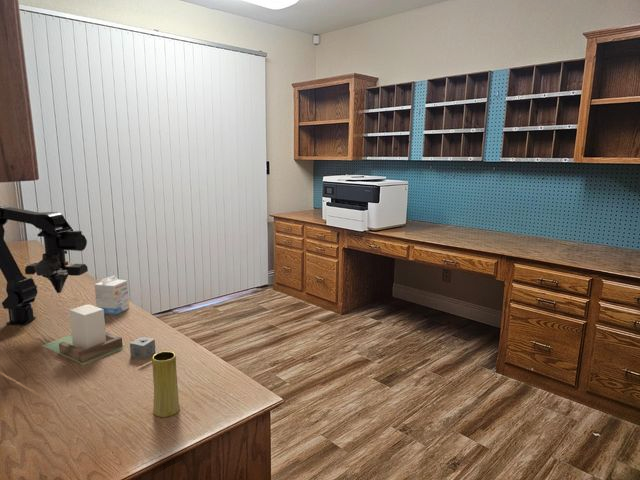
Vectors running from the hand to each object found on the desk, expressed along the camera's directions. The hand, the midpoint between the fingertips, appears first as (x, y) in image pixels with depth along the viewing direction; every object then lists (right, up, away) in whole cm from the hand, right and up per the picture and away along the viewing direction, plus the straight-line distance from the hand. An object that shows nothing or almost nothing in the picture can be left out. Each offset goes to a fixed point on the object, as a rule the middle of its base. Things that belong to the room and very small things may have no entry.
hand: (59, 292), depth 151 cm
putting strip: (+17, -16, -15) cm, 27 cm away
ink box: (+11, -9, +17) cm, 22 cm away
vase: (+54, -23, -46) cm, 75 cm away
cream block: (+20, -16, -16) cm, 30 cm away
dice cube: (+37, -17, -19) cm, 45 cm away
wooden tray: (+20, -16, -16) cm, 30 cm away
